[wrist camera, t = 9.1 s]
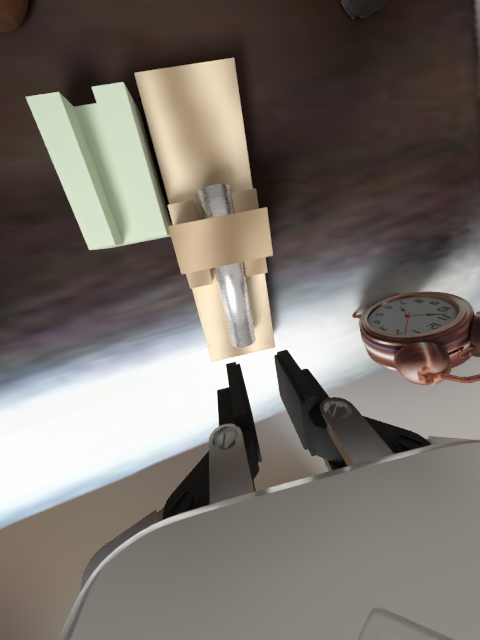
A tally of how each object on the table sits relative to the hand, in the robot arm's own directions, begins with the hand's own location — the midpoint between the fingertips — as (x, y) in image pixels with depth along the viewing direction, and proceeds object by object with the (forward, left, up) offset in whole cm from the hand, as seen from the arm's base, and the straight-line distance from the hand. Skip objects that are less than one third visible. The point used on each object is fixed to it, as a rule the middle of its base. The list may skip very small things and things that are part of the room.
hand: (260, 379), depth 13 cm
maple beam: (0, +7, -17) cm, 19 cm away
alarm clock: (+20, -6, -17) cm, 27 cm away
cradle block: (-8, +14, -17) cm, 24 cm away
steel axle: (0, +4, -15) cm, 15 cm away
